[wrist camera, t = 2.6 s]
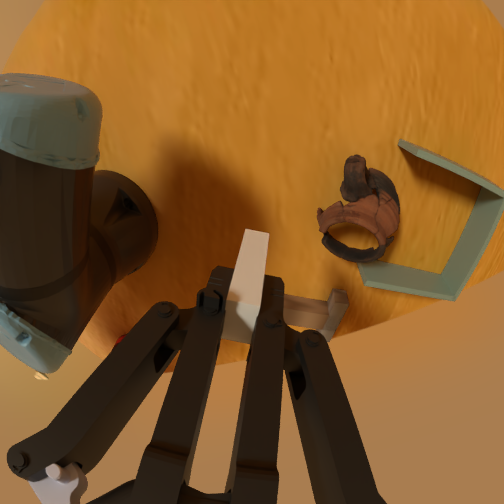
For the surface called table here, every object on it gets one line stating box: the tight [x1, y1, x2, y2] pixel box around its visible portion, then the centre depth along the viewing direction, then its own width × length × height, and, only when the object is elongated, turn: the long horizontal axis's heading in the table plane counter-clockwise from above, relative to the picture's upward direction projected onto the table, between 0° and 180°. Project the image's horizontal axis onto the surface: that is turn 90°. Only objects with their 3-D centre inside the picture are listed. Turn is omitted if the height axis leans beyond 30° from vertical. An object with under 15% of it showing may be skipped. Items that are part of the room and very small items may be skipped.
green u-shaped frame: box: [357, 139, 504, 301], centre depth 29 cm, size 15×17×5 cm
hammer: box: [283, 289, 349, 342], centre depth 39 cm, size 16×8×3 cm, turn 81°
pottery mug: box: [317, 155, 400, 263], centre depth 29 cm, size 12×10×8 cm
